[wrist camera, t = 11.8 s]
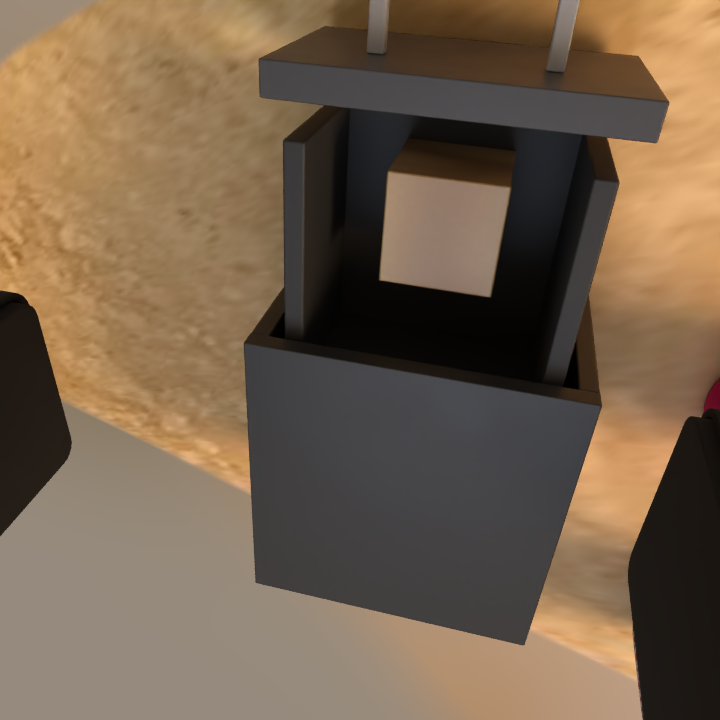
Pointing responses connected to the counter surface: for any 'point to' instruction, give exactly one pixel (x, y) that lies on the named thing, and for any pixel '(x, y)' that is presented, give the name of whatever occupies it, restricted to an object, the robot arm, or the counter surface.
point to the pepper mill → (713, 398)
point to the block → (445, 216)
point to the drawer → (466, 127)
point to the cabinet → (412, 478)
